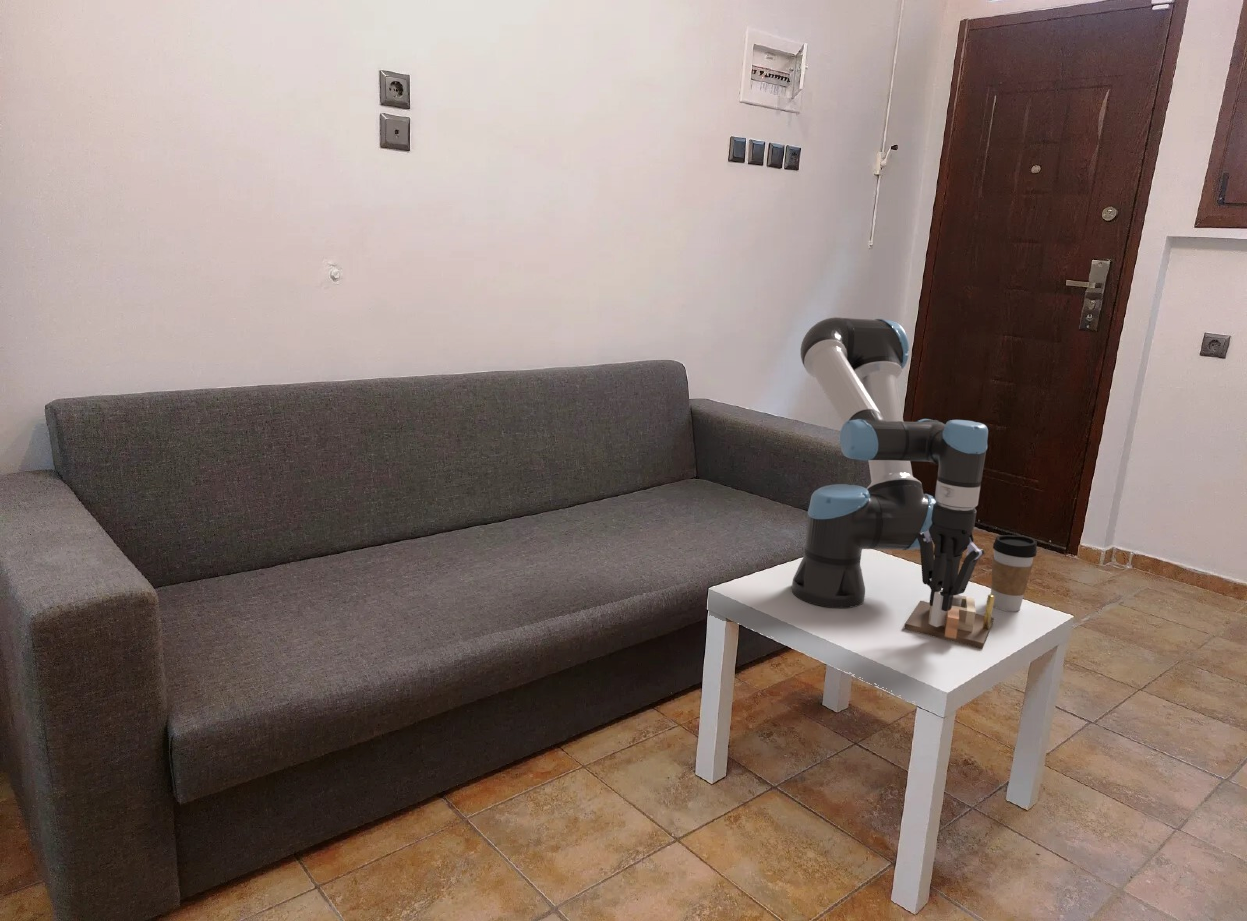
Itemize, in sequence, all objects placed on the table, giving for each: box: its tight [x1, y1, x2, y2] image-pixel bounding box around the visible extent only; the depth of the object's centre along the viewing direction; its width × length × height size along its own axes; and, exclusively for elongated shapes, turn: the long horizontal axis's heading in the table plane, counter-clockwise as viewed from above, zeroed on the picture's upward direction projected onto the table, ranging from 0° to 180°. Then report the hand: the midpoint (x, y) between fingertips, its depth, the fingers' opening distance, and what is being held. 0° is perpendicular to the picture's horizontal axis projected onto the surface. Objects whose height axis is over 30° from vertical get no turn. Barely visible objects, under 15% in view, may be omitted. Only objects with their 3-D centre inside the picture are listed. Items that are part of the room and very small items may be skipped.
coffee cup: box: [990, 534, 1038, 612], centre depth 181 cm, size 8×8×15 cm
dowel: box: [983, 594, 995, 630], centre depth 167 cm, size 1×1×7 cm
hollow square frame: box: [929, 595, 977, 639], centre depth 168 cm, size 13×8×4 cm, turn 160°
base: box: [903, 594, 995, 650], centre depth 170 cm, size 14×14×6 cm
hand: (937, 624), depth 164 cm, fingers closed
